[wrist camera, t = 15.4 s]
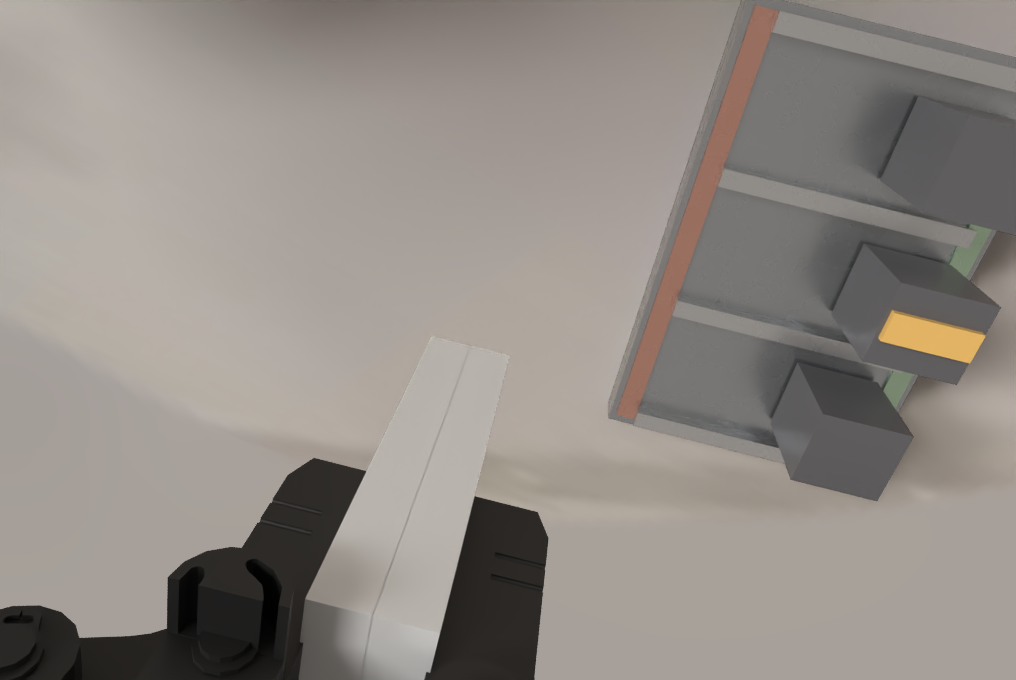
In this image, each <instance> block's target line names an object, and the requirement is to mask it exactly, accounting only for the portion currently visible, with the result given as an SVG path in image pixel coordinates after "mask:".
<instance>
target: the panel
mask: <svg viewBox="0 0 1016 680" xmlns="http://www.w3.org/2000/svg"><path fill="white" fill-rule="evenodd" d="M918 96H921V97H925V98H929V99H933V100H937V101H941V102H945V103H949V104H953V105H957V106H961V107H965V108H969V109H973V110H977V111H981V112H985V113H990V114H994V115H998V116H1002V117H1006V118H1010V119H1014V120H1016V57H1011V56H1007V55H1003V54H999V53H995V52H991V51H987V50H983V49H979V48H975V47H971V46H967V45H963V44H959V43H955V42H951V41H946V40H942V39H938V38H934V37H930V36H926V35H922V34H918V33H914V32H910V31H906V30H902V29H898V28H894V27H890V26H885V25H881V24H877V23H873V22H869V21H865V20H861V19H857V18H853V17H849V16H845V15H841V14H837V13H833V12H829V11H824V10H820V9H816V8H812V7H808V6H804V5H800V4H796V3H792V2H788V1H784V0H741V3H740V6H739V9H738V12H737V15H736V18H735V21H734V24H733V27H732V30H731V33H730V36H729V39H728V42H727V45H726V48H725V51H724V54H723V57H722V60H721V63H720V66H719V69H718V72H717V75H716V78H715V81H714V84H713V87H712V90H711V94H710V97H709V100H708V103H707V106H706V109H705V112H704V115H703V118H702V121H701V124H700V127H699V130H698V133H697V136H696V139H695V142H694V145H693V148H692V151H691V154H690V157H689V160H688V163H687V166H686V169H685V172H684V175H683V178H682V181H681V184H680V187H679V190H678V193H677V197H676V200H675V203H674V206H673V209H672V212H671V215H670V218H669V221H668V224H667V227H666V230H665V233H664V236H663V239H662V242H661V245H660V248H659V251H658V254H657V257H656V260H655V263H654V266H653V269H652V272H651V275H650V278H649V281H648V284H647V287H646V290H645V293H644V296H643V300H642V303H641V306H640V309H639V312H638V315H637V318H636V321H635V324H634V327H633V330H632V333H631V336H630V339H629V342H628V345H627V348H626V351H625V354H624V357H623V360H622V363H621V366H620V369H619V372H618V375H617V378H616V381H615V384H614V387H613V390H612V393H611V396H610V399H609V403H608V412H609V418H610V419H614V420H618V421H622V422H626V423H630V424H633V426H636V427H640V428H644V429H648V430H652V431H656V432H660V433H664V434H668V435H672V436H676V437H680V438H684V439H688V440H692V441H696V442H700V443H704V444H708V445H712V446H716V447H720V448H724V449H728V450H732V451H736V452H740V453H744V454H748V455H752V456H756V457H760V458H764V459H768V460H772V461H776V462H780V463H784V464H785V462H784V459H783V457H782V454H781V451H780V448H779V446H778V443H777V440H776V437H775V435H774V432H773V429H772V426H771V424H770V422H771V420H772V418H773V416H774V413H775V411H776V409H777V407H778V405H779V402H780V400H781V398H782V396H783V393H784V391H785V389H786V387H787V385H788V382H789V380H790V378H791V376H792V374H793V371H794V369H795V367H796V365H797V363H802V364H806V365H810V366H814V367H818V368H822V369H826V370H830V371H834V372H838V373H842V374H846V375H850V376H854V377H858V378H862V379H866V380H870V381H874V382H878V384H879V385H880V387H881V388H882V390H883V391H884V393H885V394H886V396H887V397H888V399H889V400H890V402H891V403H892V405H893V406H894V408H895V409H896V411H897V412H899V410H900V408H901V407H902V405H903V403H904V401H905V399H906V397H907V395H908V394H909V392H910V390H911V388H912V386H913V384H914V383H915V381H916V379H917V377H918V375H915V374H911V373H907V372H903V371H899V370H895V369H891V368H887V367H883V366H879V365H875V364H871V363H867V362H863V361H862V360H861V359H860V357H859V356H858V354H857V353H856V351H855V350H854V348H853V347H852V345H851V344H850V342H849V341H848V339H847V338H846V336H845V334H844V333H843V331H842V330H841V328H840V327H839V325H838V324H837V322H836V321H835V319H834V318H833V316H832V315H831V313H832V311H833V309H834V307H835V305H836V303H837V300H838V298H839V296H840V294H841V292H842V290H843V287H844V285H845V283H846V281H847V279H848V277H849V274H850V272H851V270H852V268H853V266H854V264H855V261H856V259H857V257H858V255H859V253H860V251H861V248H862V246H863V244H864V243H865V244H869V245H873V246H877V247H881V248H885V249H889V250H893V251H897V252H901V253H905V254H909V255H913V256H917V257H921V258H925V259H929V260H933V261H937V262H941V263H945V264H949V265H952V266H953V267H954V268H955V269H956V270H957V271H959V272H960V273H961V274H962V275H963V276H964V277H966V278H967V279H968V280H969V281H970V280H971V278H972V276H973V274H974V272H975V270H976V269H977V267H978V265H979V263H980V261H981V259H982V258H983V256H984V254H985V252H986V250H987V248H988V247H989V245H990V243H991V241H992V239H993V237H994V236H995V234H996V232H997V231H996V230H992V229H988V228H984V227H980V226H976V225H972V224H968V223H964V222H960V221H956V220H951V219H947V218H943V217H939V216H935V215H931V214H927V213H923V212H921V211H920V210H918V209H917V208H916V207H914V206H913V205H912V204H910V203H909V202H908V201H906V200H905V199H904V198H903V197H901V196H900V195H899V194H897V193H896V192H895V191H893V190H892V189H891V188H889V187H888V186H887V185H885V184H884V183H883V182H881V181H880V180H881V178H882V175H883V173H884V171H885V169H886V167H887V164H888V162H889V160H890V158H891V156H892V153H893V151H894V149H895V147H896V144H897V142H898V140H899V138H900V136H901V133H902V131H903V129H904V127H905V125H906V122H907V120H908V118H909V116H910V114H911V111H912V109H913V107H914V105H915V103H916V100H917V98H918Z"/></svg>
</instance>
